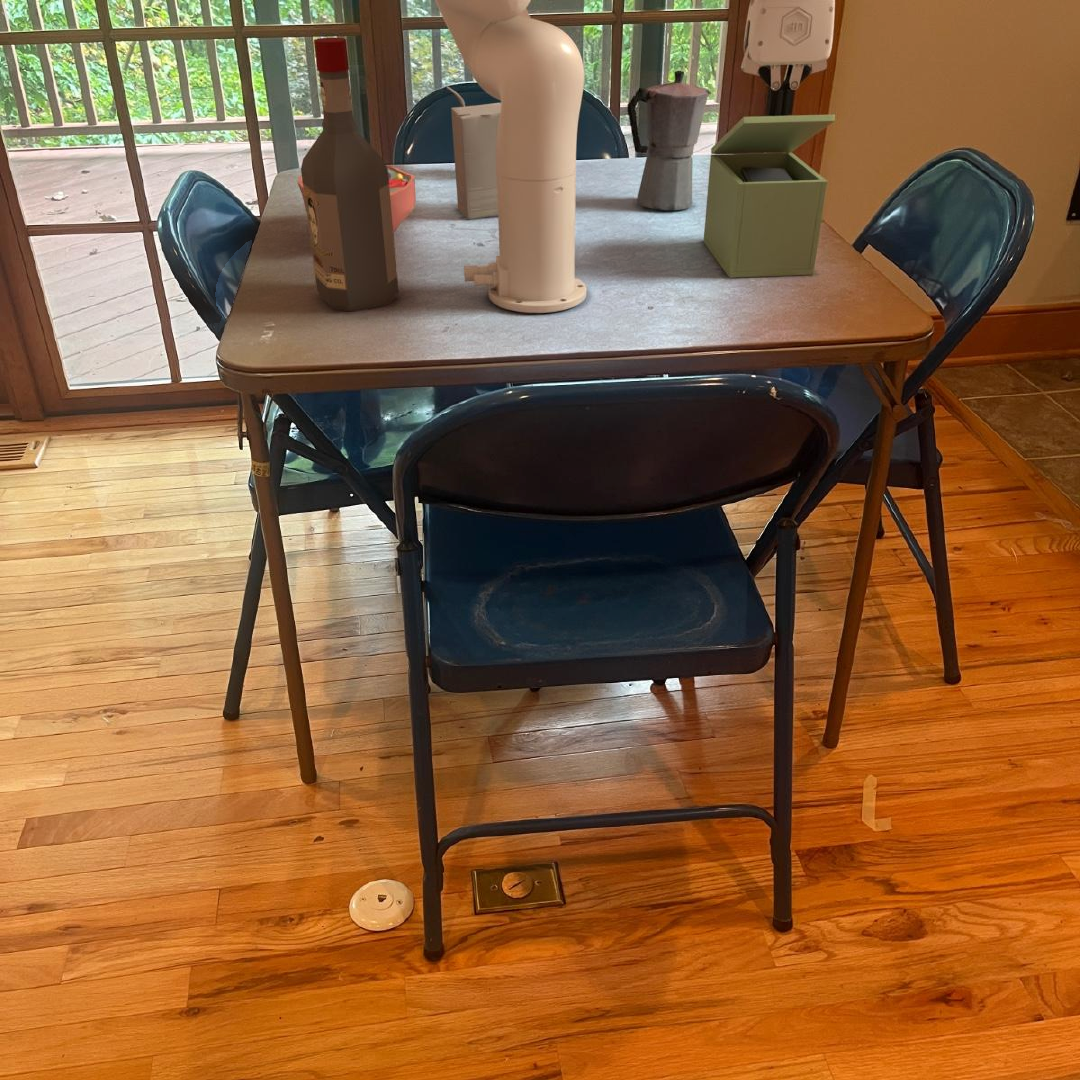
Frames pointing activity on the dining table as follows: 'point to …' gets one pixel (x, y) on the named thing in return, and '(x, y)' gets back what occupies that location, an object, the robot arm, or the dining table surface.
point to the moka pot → (668, 141)
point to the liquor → (347, 198)
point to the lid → (771, 133)
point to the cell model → (394, 194)
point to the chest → (763, 216)
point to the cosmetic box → (476, 159)
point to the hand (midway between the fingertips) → (777, 121)
